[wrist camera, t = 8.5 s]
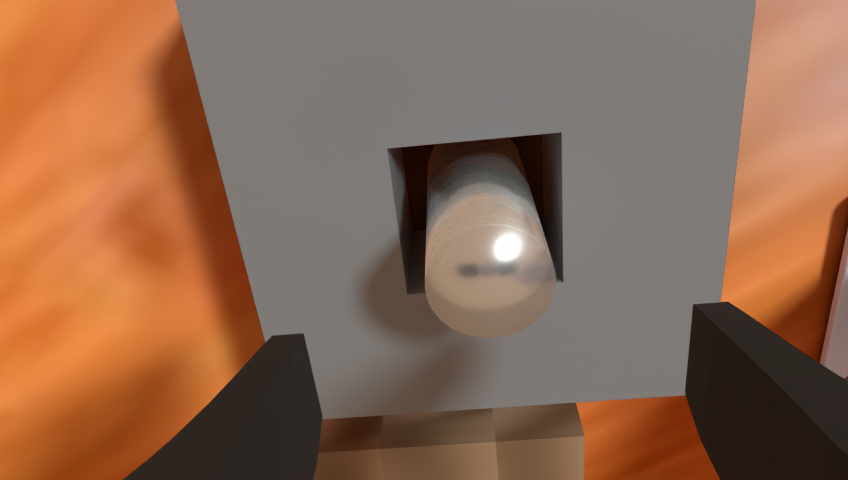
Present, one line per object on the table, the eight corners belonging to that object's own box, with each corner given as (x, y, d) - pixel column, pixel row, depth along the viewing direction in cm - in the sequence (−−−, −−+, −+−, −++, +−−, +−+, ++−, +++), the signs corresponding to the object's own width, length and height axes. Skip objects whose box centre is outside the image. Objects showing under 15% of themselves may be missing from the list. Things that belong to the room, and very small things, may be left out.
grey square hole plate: (701, -89, 18) (765, -82, 15) (670, 319, 24) (709, 393, 21) (221, -35, 19) (170, -16, 15) (307, 345, 25) (286, 421, 22)
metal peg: (520, 120, 21) (556, 222, 15) (522, 208, 22) (555, 333, 16) (424, 127, 21) (419, 231, 15) (431, 214, 23) (430, 341, 16)
